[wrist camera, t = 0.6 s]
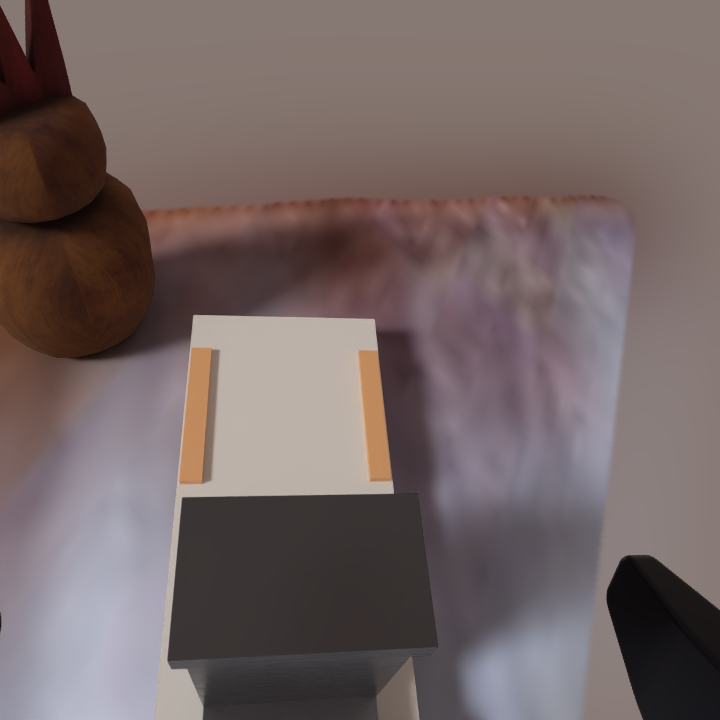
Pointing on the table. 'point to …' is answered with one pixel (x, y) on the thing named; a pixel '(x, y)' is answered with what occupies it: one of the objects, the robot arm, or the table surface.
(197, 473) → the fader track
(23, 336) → the wooden figurine
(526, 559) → the table surface
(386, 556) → the fader knob
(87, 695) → the table surface
